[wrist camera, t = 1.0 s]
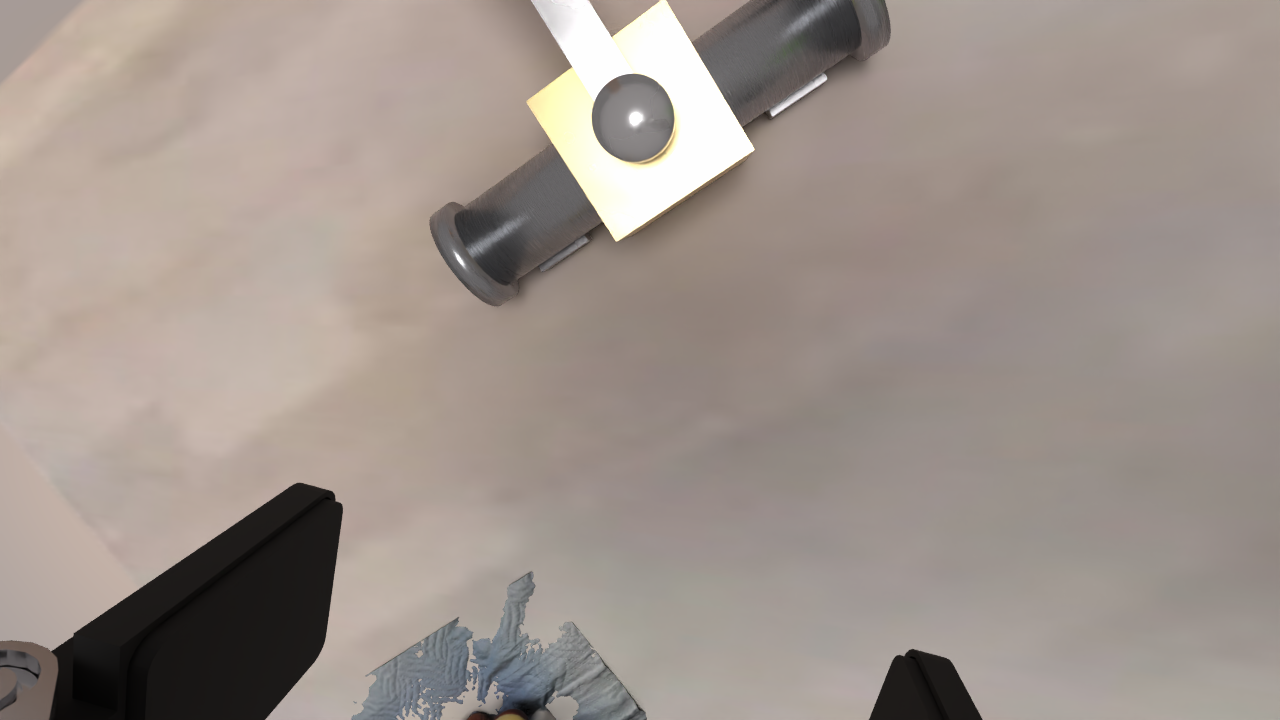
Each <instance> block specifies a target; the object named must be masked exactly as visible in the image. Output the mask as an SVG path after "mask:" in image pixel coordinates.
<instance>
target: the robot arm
mask: <svg viewBox="0 0 1280 720" xmlns="http://www.w3.org/2000/svg"><path fill="white" fill-rule="evenodd" d="M342 514H343V507H342V504H341V503H339V502H336V501H335V494H334V493H333V492H332V491H329V490H326V489H322V488H318V487H315V486H311V485H307V484H304V483H296V484H294V485H292V486H291V487H289V488H288V489H286V490H285V491H283V492H282V493H280V494H279V495H277V496H276V497H274V498H273V499H272V500H270V501H269V502H267V503H266V504H264V505H263V506H261V507H260V508H258V509H257V510H255V511H254V512H252V513H251V514H249V515H248V516H246V517H245V518H243V519H242V520H241V521H239V522H238V523H236V524H235V525H233V526H232V527H230V528H229V529H227V530H226V531H224V532H223V533H221V534H220V535H218V536H217V537H215V538H214V539H212V540H211V541H210V542H208V543H207V544H205V545H204V546H202V547H201V548H199V549H198V550H196V551H195V552H193V553H192V554H190V555H189V556H187V557H186V558H184V559H183V560H181V561H180V562H179V563H177V564H176V565H174V566H173V567H171V568H170V569H168V570H167V571H165V572H164V573H162V574H161V575H159V576H158V577H156V578H155V579H153V580H152V581H150V582H149V583H147V584H146V585H145V586H143V587H142V588H140V589H139V590H137V591H136V592H134V593H133V594H131V595H130V596H128V597H127V598H125V599H124V600H123V601H121V602H119V603H118V604H117V605H115V606H114V607H112V608H111V609H109V610H108V611H106V612H105V613H103V614H102V615H100V616H99V617H97V618H96V619H94V620H93V621H91V622H90V623H88V624H87V625H85V626H84V627H83V628H81V629H80V630H78V631H77V632H75V633H74V636H73V637H72V638H70V639H69V640H67V641H66V642H64V643H63V644H61V645H60V646H59V647H57V648H56V649H54V650H53V651H50V650H49V649H48V648H45V647H43V646H40V645H38V644H35V643H31V642H22V641H12V640H11V641H0V720H265V719H266V718H267V717H268V716H269V714H270V713H271V712H272V711H273V710H274V709H275V707H276V706H277V705H278V704H279V703H280V702H281V700H282V699H283V698H284V697H285V696H286V695H287V693H288V692H289V691H290V690H291V689H292V688H293V686H294V685H295V684H296V683H297V682H298V681H299V679H300V678H301V677H302V676H303V675H304V674H305V672H306V671H307V670H308V669H309V668H310V667H311V665H312V664H313V663H314V662H315V660H316V659H317V658H318V656H319V654H320V652H321V650H322V648H323V645H324V642H325V638H326V632H327V624H328V617H329V610H330V602H331V595H332V588H333V580H334V573H335V565H336V558H337V551H338V543H339V536H340V529H341V521H342ZM869 720H982V718H981V716H980V714H979V712H978V710H977V708H976V707H975V705H974V703H973V701H972V699H971V697H970V695H969V693H968V692H967V690H966V688H965V686H964V684H963V682H962V680H961V679H960V677H959V675H958V673H957V671H956V669H955V667H954V665H953V664H952V662H951V661H950V660H949V659H947V658H944V657H940V656H937V655H933V654H929V653H926V652H922V651H918V650H915V649H911V650H909V651H908V652H907V653H906V654H905V656H901V655H897V656H896V657H895V658H894V659H893V661H892V663H891V666H890V668H889V671H888V673H887V676H886V678H885V681H884V683H883V686H882V689H881V691H880V694H879V696H878V699H877V701H876V704H875V706H874V709H873V711H872V714H871V716H870V719H869Z"/></svg>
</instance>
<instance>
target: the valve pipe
mask: <svg viewBox="0 0 1280 720" xmlns="http://www.w3.org/2000/svg"><path fill="white" fill-rule="evenodd" d="M890 32H891V29H890V20H889V15H888V10H887V7H886V3H885V0H750V1H749V2H747V3H746V4H745V5H743V6H742V7H740V8H739V9H738V10H736V11H735V12H734V13H732V14H731V15H729V16H728V17H727V18H725V19H724V20H722V21H721V22H720V23H718V24H717V25H716V26H714V27H713V28H711V29H710V30H709V31H707V32H706V33H705V34H703V35H702V36H700V37H699V38H698V39H696V40H695V41H693V42H692V43H691V42H690V41H689V39H688V37H687V36H686V34H685V32H684V30H683V29H682V27H681V25H680V24H679V22H678V20H677V19H676V17H675V15H674V14H673V12H672V10H671V9H670V7H669V5H668V4H667V2H666V0H661V1H660V2H659V3H657V4H656V5H655V6H653V7H652V8H651V9H649V10H648V11H647V12H645V13H644V14H643V15H641V16H640V17H639V18H637V19H636V20H635V21H633V22H632V23H631V24H629V25H628V26H627V27H625V28H624V29H623V30H621V31H620V32H619V33H617V34H616V35H614V36H613V37H612V40H613V41H614V43H615V45H616V46H617V48H618V49H619V51H620V53H621V54H622V56H623V58H624V59H625V61H626V63H627V64H628V66H629V67H630V69H631V71H632V72H633V73H637V74H643V75H646V76H648V77H651V78H652V79H654V80H656V81H657V82H658V83H659V84H661V86H662V87H663V88H664V89H665V90H666V92H667V93H668V95H669V97H670V99H671V102H672V105H673V107H674V111H675V118H676V123H675V130H674V134H673V137H672V139H671V141H670V143H669V145H668V146H667V148H666V149H665V150H664V151H663V152H662V153H661V154H660V155H658V156H657V157H655V158H654V159H652V160H649V161H646V162H642V163H629V162H625V161H622V160H620V159H618V158H616V157H614V156H612V155H610V154H609V153H608V152H607V151H605V150H604V149H603V148H602V146H601V145H600V144H599V142H598V141H597V139H596V137H595V134H594V131H593V128H592V119H591V115H592V108H593V104H594V100H593V98H592V97H591V95H590V94H589V92H588V90H587V89H586V87H585V86H584V84H583V82H582V81H581V79H580V78H579V76H578V74H577V73H576V71H575V70H574V68H573V67H572V68H570V69H569V70H568V71H566V72H565V73H564V74H562V75H561V76H560V77H558V78H557V79H556V80H554V81H553V82H552V83H550V84H549V85H548V86H546V87H545V88H544V89H542V90H541V91H540V92H538V93H537V94H536V95H534V96H533V97H532V98H530V99H529V100H528V101H526V102H527V104H528V105H529V107H530V109H531V110H532V112H533V113H534V115H535V116H536V118H537V119H538V121H539V122H540V124H541V126H542V127H543V129H544V130H545V132H546V133H547V135H548V136H549V138H550V140H551V141H552V143H553V144H551V145H550V146H548V147H547V148H546V149H544V150H543V151H542V152H540V153H539V154H537V155H536V156H535V157H533V158H532V159H530V160H529V161H528V162H526V163H525V164H524V165H522V166H521V167H519V168H518V169H517V170H515V171H514V172H513V173H511V174H510V175H508V176H507V177H506V178H504V179H503V180H501V181H500V182H499V183H497V184H496V185H495V186H493V187H492V188H490V189H489V190H488V191H486V192H485V193H483V194H482V195H481V196H479V197H478V198H477V199H475V200H474V201H472V202H471V203H470V204H468V205H467V206H466V207H464V206H462V205H460V204H458V203H455V202H449V203H448V204H446V205H445V206H444V207H442V208H441V209H440V210H438V211H437V212H435V213H434V214H433V215H432V216H431V217H430V230H431V234H432V236H433V239H434V241H435V244H436V246H437V248H438V250H439V252H440V253H441V255H442V257H443V258H444V260H445V262H446V263H447V265H448V266H449V267H450V269H451V270H452V271H453V273H454V274H455V275H456V277H457V278H458V279H459V280H460V281H461V282H462V283H463V284H464V285H465V287H466V288H467V289H468V290H470V291H471V292H472V293H473V294H474V295H475V296H476V297H478V298H479V299H480V300H482V301H483V302H485V303H487V304H489V305H492V306H500V305H502V304H503V303H505V302H506V301H508V300H509V299H511V298H512V297H514V296H515V295H517V293H518V291H519V283H518V279H519V278H521V277H522V276H524V275H525V274H527V273H528V272H530V271H531V270H532V269H534V268H535V267H537V266H538V267H539V268H540V270H541V271H542V272H543V271H546V270H548V269H550V268H551V267H553V266H554V265H556V264H557V263H559V262H560V261H562V260H563V259H565V258H566V257H568V256H569V255H571V254H572V253H574V252H575V251H577V250H578V249H580V248H581V247H583V246H584V245H585V244H587V243H588V242H590V241H591V240H593V239H592V238H591V236H590V235H589V233H588V231H590V230H591V229H593V228H594V227H596V226H597V225H599V224H600V223H602V222H604V223H605V225H606V226H607V228H608V230H609V231H610V233H611V234H612V236H613V237H614V239H615V240H616V242H617V241H620V240H622V239H625V238H627V237H630V236H632V235H634V234H636V233H637V232H639V231H640V230H642V229H643V228H645V227H646V226H648V225H649V224H651V223H652V222H654V221H655V220H657V219H658V218H660V217H661V216H663V215H664V214H666V213H667V212H669V211H670V210H672V209H673V208H675V207H676V206H678V205H679V204H681V203H682V202H684V201H685V200H687V199H688V198H690V197H691V196H693V195H694V194H696V193H697V192H699V191H700V190H702V189H703V188H705V187H706V186H708V185H709V184H711V183H712V182H714V181H715V180H717V179H718V178H720V177H721V176H723V175H724V174H726V173H727V172H729V171H730V170H732V169H733V168H735V167H736V166H738V165H739V164H741V163H742V162H744V161H745V160H747V158H748V157H749V156H750V155H751V153H752V152H753V151H754V148H753V146H752V145H751V143H750V141H749V140H748V138H747V136H746V135H745V133H744V131H743V129H742V127H743V126H745V125H746V124H748V123H749V122H751V121H752V120H754V119H755V118H756V117H758V116H759V115H761V114H762V113H764V112H766V114H767V116H768V117H769V119H770V120H771V119H772V118H774V117H775V116H777V115H778V114H780V113H781V112H783V111H784V110H786V109H787V108H789V107H790V106H792V105H793V104H795V103H796V102H798V101H799V100H801V99H802V98H804V97H805V96H806V95H808V94H809V93H811V92H812V91H814V90H815V89H817V88H818V87H820V86H821V85H823V84H824V83H825V82H826V81H827V80H828V79H827V77H826V75H825V74H824V71H826V70H827V69H829V68H830V67H832V66H833V65H835V64H836V63H838V62H839V61H840V60H842V59H843V58H845V57H846V56H848V55H849V54H850V55H851V56H852V57H854V58H855V59H857V60H860V61H864V60H866V59H868V58H869V57H870V56H872V55H873V54H875V53H876V52H878V51H879V50H881V49H882V48H884V47H885V46H887V44H888V43H889V40H890Z"/></svg>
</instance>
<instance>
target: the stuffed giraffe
mask: <svg viewBox="0 0 1280 720" xmlns="http://www.w3.org/2000/svg"><path fill="white" fill-rule="evenodd" d="M533 577H534V575H533V572H530V573H529V574H527V575H526V576H524V577H523V578H521V579H520V580H518V581H516V582H515V583H513V584H511V585H509V587H508V588H507V590H508V592H507V593H508V599H507V600H506V603H505V607H504V608H503V611H504V612H505V613H504V615H503V617H502V618H501V624H500V628H499V629H498V632H497V634H496V636H495V637H494V639H493V640H492V641H493V643H490V639H489V638H488V639H480V640H479V641H474V640H472V641H473V649H474V650H473V655H474V656H476V659H475V660H474V659H471V660H470V661H471V662H473V663H476V664H479V665H478V668H479V669H480V671H479V672H478V670H477V668H476V667H475V666H473V667H472V669H473V673H470V672H469V671H468V670H466V668H467V661H468V658H469V651H468V647H467V644H466V641H467V640H469V639H471V638H472V634H473V632H471V631H469V630H468V629H467V628H466V627H455V626H456V625H457V624H458V622H459V621H458V618H459V617H458V618H457V619H456V620H454V621H453V622H451V623H449V624H448V625H446V626H445V627H443V628H441V629H440V630H438V631H437V632H435V633H433V634H431V635H430V636H428V637H426V638H425V639H423V640H424V643H423V644H422V647H421V642H419V643H417V644H416V645H414V646H416V647H414V646H413V647H411V648H410V649H408V650H407V651H405V652H404V653H402V654H400V655H399V656H397V657H395V658H394V659H392V660H391V661H389V662H388V663H386V664H384V665H383V666H381V667H379V668H378V669H376V670H375V671H373V672H371V673H369V674H368V675H370V674H373V675H376V677H377V680H376V681H375V683H374V684H373V685H372V686H371V687H369V696H368V698H367V699H366V700H365V701H364V702H363V704H362V705H363V707H364V709H363V711H362V712H361V713H359V714H357V715H353V717H352V720H398V719H397V718H396V716H397V715H399V716H400V718H401V719H403V720H405V719H404V718H405V717H403V716H402V708H403V707H404V706H405V710H406V714H405V715H406V717H408V714H409V709H410V708H411V706H412V708H411V709H412V711H413V712H414V713H415V714H417V715H419V717H420V719H421V720H428V718H429V717H428V715H429V714H431V716H432V717H431V718H430V720H436V719H435V717H437V719H438V720H440V717H441V716H442V713H441V710H442V709H443V708H445V706H442V705H440V704H442V703H443V702H444V703H447V702H448V701H450V702H455V701H456V702H457V703H459V704H463V700H458V699H457V697H458V696H459V695H461V693H462V692H464V691H469V690H468V689H467V688H466V687H465V685H467V679H468V681H469V682H470V681H471V679H470V678H472V676H470V674H473V679H474V681H473V685H475V683H476V679H477V674H478V681H479V683H478V685H479V688H478V697H477V698H478V699H477V700H479V701H480V700H482V702H483V703H484V704H485V703H486V702H485V699H484V698H485V697H486V696H487V694H488V692H487V691H488V690H489V687H490V685H491V683H492V682H493V681H495V682H497V683H498V684H499V685H497V692H495V693H494V694H497V693H498V692H499V691H501V692H504V695H503V697H502V698H503V706H502V707H501V708H500V710H499V711H497V709H496V711H497V712H498V715H494V714H486V713H482V712H472V714H471V715H470V717H469V718H468V719H467V720H556V718H555V717H554V716H553V715H552V713H551V712H550V711H549V710H548V709H547V708H546V706H545V705H546V704H547V703H549V704H550V703H551V702H552V701H553V700H554V697H553V696H552V694H553V693H554V692H555V691H558V693H557V696H556V697H560V696H571V697H572V698H573V699H575V700H576V701H577V703H578V704H579V708H578V710H576V711H578V713H577V714H576V715H575V716H573V720H647V718H646V715H645V712H644V711H641V710H640V711H639V710H638V708H637V707H636V704H635V702H634V700H633V699H632V698H631V696H630V695H629V694H628V693H627V691H626V689H625V688H624V686H623V685H622V684H621V683H620V681H618V680H617V678H616V676H615V675H614V674H613V673H612V672H611V671H610V670H609V668H607V667H606V666H605V665H604V664H603V662H602V660H601V658H600V657H599V655H598V653H597V652H596V651H595V650H593V649H591V648H590V646H591V645H590V644H589V643H588V641H587V640H586V638H585V637H584V636H583V634H582V633H581V632H580V631H579V630H578V629H577V628H576V627H575V625H574V624H573V623H572V622H565V623H564V625H563V627H561V626H559V629H560V631H562V630H564V631H566V632H567V633H565V634H562V638H558V639H557V643H551V644H549V643H548V644H549V648H547V649H545V652H544V653H543V654H542V650H543V649H542V648H541V644H539V643H538V642H539V639H534V640H529V636H528V634H527V633H525V634H522V637H520V636H519V635H520V634H521V631H520V628H519V625H520V624H522V625H524V624H523V620H524V617H525V608H526V605H525V604H526V603H527V602H528V601H529V599H528V598H529V597H530V596H531V595H532V594H533V590H534V588H535V584H534V583H533V582H532V579H533ZM423 640H422V641H423ZM527 643H531V649H530V650H529V651H528V655H527V653H526V649H527V648H528V646H525V645H526V644H527ZM537 643H538V645H539V649H538V650H537V651H536V653H534V652H535V651H534V648H532V646H533V645H535V644H537ZM417 646H418V647H417ZM591 647H592V646H591ZM592 648H593V647H592ZM419 650H422V652H423V655H422V656H421V657H420V658H418V657H417V655H416V654H415V653H418V651H419ZM521 652H522V655H521V656H520V654H521ZM595 652H596V654H595V657H594V658H593V657H592V656H591V655H592V654H594V653H595ZM526 656H527V659H526ZM519 658H520V659H519ZM533 660H534V661H533ZM484 666H485V667H486V668H485V667H484ZM368 675H366V676H368ZM496 677H498V678H496ZM419 679H422V680H421V681H420V682H419V681H418V680H419ZM412 685H413V686H412ZM420 685H421V687H420ZM494 686H496V685H494ZM425 687H426V688H431V690H429V689H428V690H426V693H423V692H422V691H423V690H425V689H426V688H425ZM433 689H434V690H433ZM474 689H475V687H474V686H473V688H472V690H474ZM419 693H421V695H419ZM425 694H426V695H425ZM506 695H509V696H508V697H507V696H506ZM431 696H432V699H431V698H430V697H431ZM438 697H444V698H438ZM448 697H453V699H450V698H448ZM463 697H465V696H463ZM496 697H497V699H498V698H499V696H496ZM420 698H422V699H423V700H424V701H423V702H422V704H423V705H425V704H426V702H428V705H429V706H430V708H424V709H423V711H424V712H425V713H424V715H422V714H419V713H418V711H417V707H418V708H420V709H421V706H420V705H419V704H417V701H418V700H419V699H420ZM412 700H413V702H411V701H412ZM407 701H408V702H407ZM425 701H426V702H425ZM353 702H354V701H353ZM437 702H438V704H433V703H437ZM354 703H357V702H354ZM480 706H482V705H480ZM480 706H479V707H480ZM429 710H430V711H431V713H430V712H429ZM435 710H437V711H436V712H435ZM528 710H529V711H528ZM426 714H427V715H426ZM412 716H414V715H413V714H412ZM414 717H415V716H414Z"/></svg>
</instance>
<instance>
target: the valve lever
mask: <svg viewBox="0 0 1280 720" xmlns="http://www.w3.org/2000/svg"><path fill="white" fill-rule="evenodd" d="M531 1H532V3H533V4H534V6H535V8H536V9H537V11H538V12H539V14H540V16H541V17H542V19H543V20H544V22H545V24H546V25H547V27H548V28H549V30H550V31H551V33H552V35H553V36H554V38H555V39H556V41H557V43H558V44H559V46H560V47H561V49H562V51H563V52H564V54H565V55H566V57H567V59H568V60H569V62H570V63H571V65H572V67H573V68H574V70H575V71H576V73H577V74H578V76H579V78H580V79H581V81H582V82H583V84H584V86H585V87H586V89H587V90H588V92H589V94H590V95H591V97H592V98H593V100H594V104H593V108H592V115H591V119H592V128H593V131H594V134H595V137H596V139H597V141H598V142H599V144H600V145H601V146H602V148H603V149H604V150H605V151H607V152H608V153H609V154H610V155H612V156H614V157H616V158H618V159H620V160H622V161H625V162H629V163H642V162H646V161H649V160H652V159H654V158H655V157H657V156H658V155H660V154H661V153H662V152H663V151H664V150H665V149H666V148H667V146H668V145H669V143H670V141H671V139H672V137H673V134H674V130H675V123H676V118H675V111H674V107H673V105H672V102H671V99H670V97H669V95H668V93H667V92H666V90H665V89H664V88H663V87H662V86H661V84H659V83H658V82H657V81H656V80H654V79H652V78H651V77H648V76H646V75H643V74H637V73H633V72H632V71H631V69H630V67H629V66H628V64H627V63H626V61H625V59H624V58H623V56H622V54H621V53H620V51H619V49H618V48H617V46H616V45H615V43H614V41H613V40H612V38H611V36H610V35H609V33H608V32H607V30H606V28H605V27H604V25H603V23H602V22H601V20H600V19H599V17H598V15H597V14H596V12H595V10H594V9H593V7H592V6H591V4H590V2H589V1H588V0H531Z"/></svg>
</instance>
